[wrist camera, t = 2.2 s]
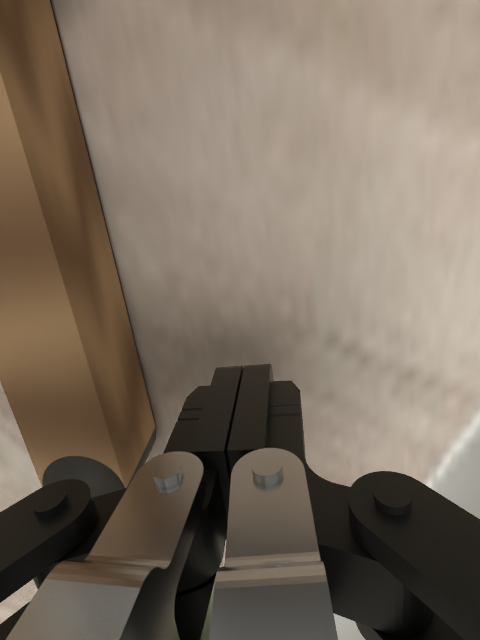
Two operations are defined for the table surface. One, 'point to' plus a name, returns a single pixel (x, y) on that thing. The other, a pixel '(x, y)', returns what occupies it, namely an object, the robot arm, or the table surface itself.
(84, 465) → the leg
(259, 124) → the table surface
